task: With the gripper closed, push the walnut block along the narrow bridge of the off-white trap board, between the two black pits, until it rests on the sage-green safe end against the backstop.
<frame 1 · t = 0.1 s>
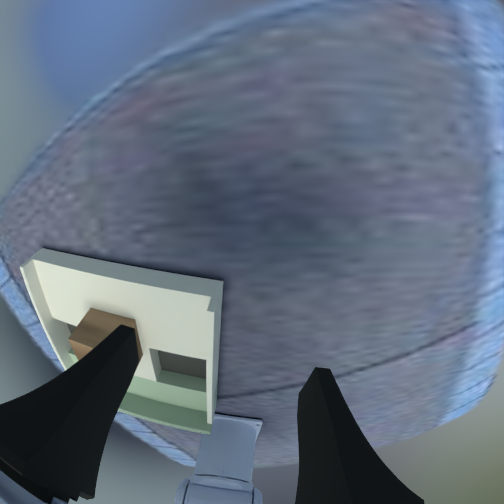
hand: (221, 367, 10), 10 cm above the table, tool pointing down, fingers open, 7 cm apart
trap board: (130, 339, 25), on the table
walnut block: (116, 332, 21), point 2 cm above the table, touching trap board
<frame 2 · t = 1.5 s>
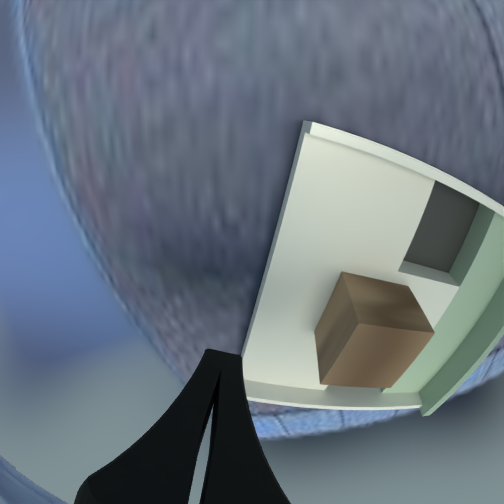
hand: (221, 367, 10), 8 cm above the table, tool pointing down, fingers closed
trap board: (391, 297, 17), on the table
walnut block: (361, 310, 15), point 2 cm above the table, touching trap board
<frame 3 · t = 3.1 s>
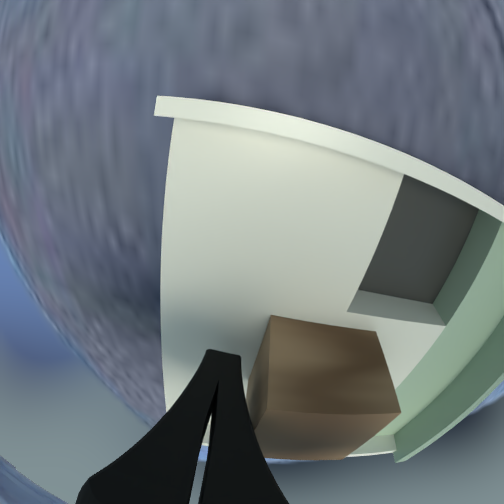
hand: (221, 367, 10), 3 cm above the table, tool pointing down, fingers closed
trap board: (350, 335, 13), on the table
walnut block: (308, 360, 11), point 2 cm above the table, touching gripper, trap board
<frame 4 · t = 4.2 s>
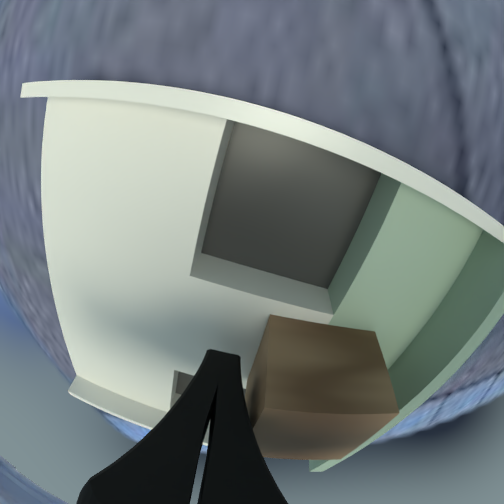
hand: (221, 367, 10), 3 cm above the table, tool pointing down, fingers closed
trap board: (232, 314, 13), on the table
walnut block: (307, 360, 11), point 2 cm above the table, touching gripper
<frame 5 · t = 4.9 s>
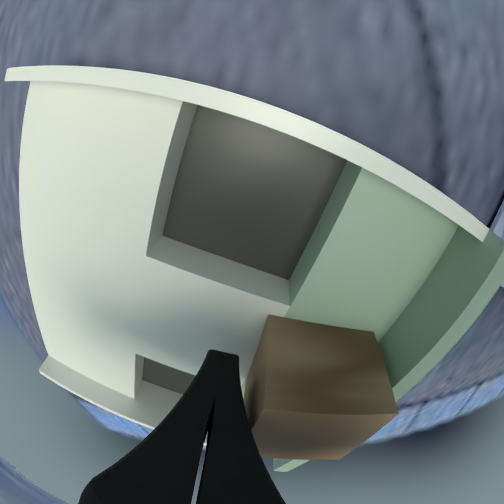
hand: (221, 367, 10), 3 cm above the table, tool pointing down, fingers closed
trap board: (193, 301, 13), on the table
walnut block: (306, 360, 11), point 2 cm above the table, touching gripper, trap board
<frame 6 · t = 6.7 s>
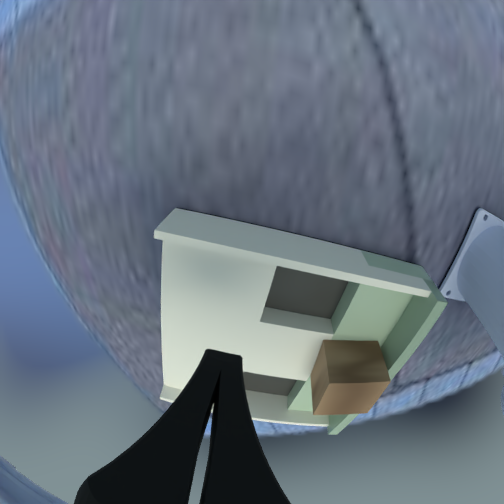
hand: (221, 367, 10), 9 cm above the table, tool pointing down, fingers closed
trap board: (276, 335, 22), on the table
walnut block: (343, 359, 20), point 2 cm above the table, touching trap board
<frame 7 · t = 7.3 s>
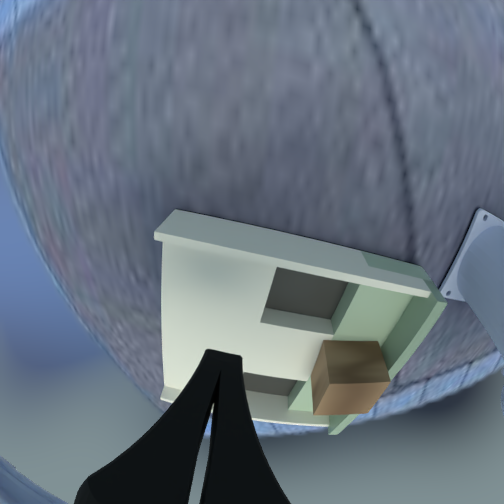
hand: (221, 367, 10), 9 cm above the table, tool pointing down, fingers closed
trap board: (277, 336, 22), on the table
walnut block: (343, 359, 20), point 2 cm above the table, touching trap board
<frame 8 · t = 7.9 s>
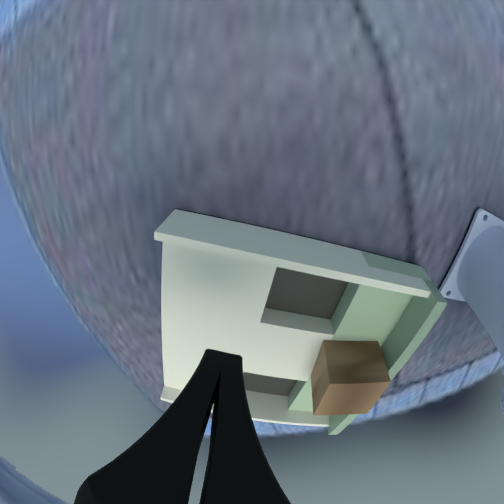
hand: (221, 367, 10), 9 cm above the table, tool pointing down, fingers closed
trap board: (277, 336, 22), on the table
walnut block: (343, 359, 20), point 2 cm above the table, touching trap board
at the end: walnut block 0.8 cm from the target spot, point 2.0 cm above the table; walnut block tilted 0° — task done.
